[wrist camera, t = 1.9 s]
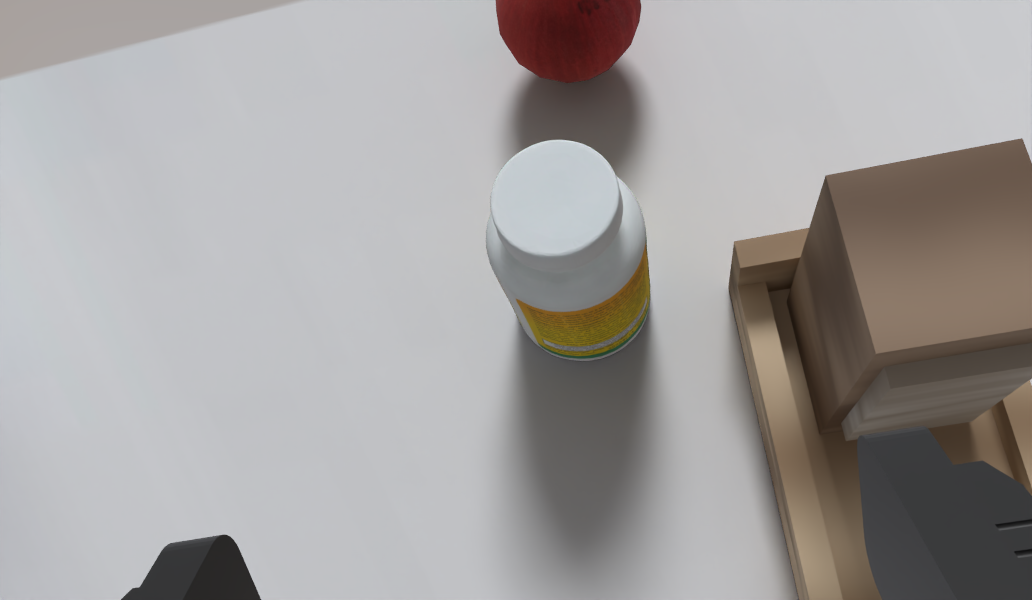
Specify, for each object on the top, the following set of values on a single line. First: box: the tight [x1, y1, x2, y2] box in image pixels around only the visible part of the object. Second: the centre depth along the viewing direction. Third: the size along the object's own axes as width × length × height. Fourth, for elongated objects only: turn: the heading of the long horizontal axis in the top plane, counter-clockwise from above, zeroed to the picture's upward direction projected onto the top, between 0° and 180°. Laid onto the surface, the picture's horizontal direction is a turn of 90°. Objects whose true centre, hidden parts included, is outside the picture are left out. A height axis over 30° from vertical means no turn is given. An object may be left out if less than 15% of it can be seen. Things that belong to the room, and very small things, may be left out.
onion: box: [496, 0, 641, 83], centre depth 36 cm, size 6×6×8 cm
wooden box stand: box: [729, 139, 1032, 600], centre depth 27 cm, size 16×8×12 cm, turn 7°
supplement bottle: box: [486, 140, 650, 361], centre depth 32 cm, size 5×5×10 cm
